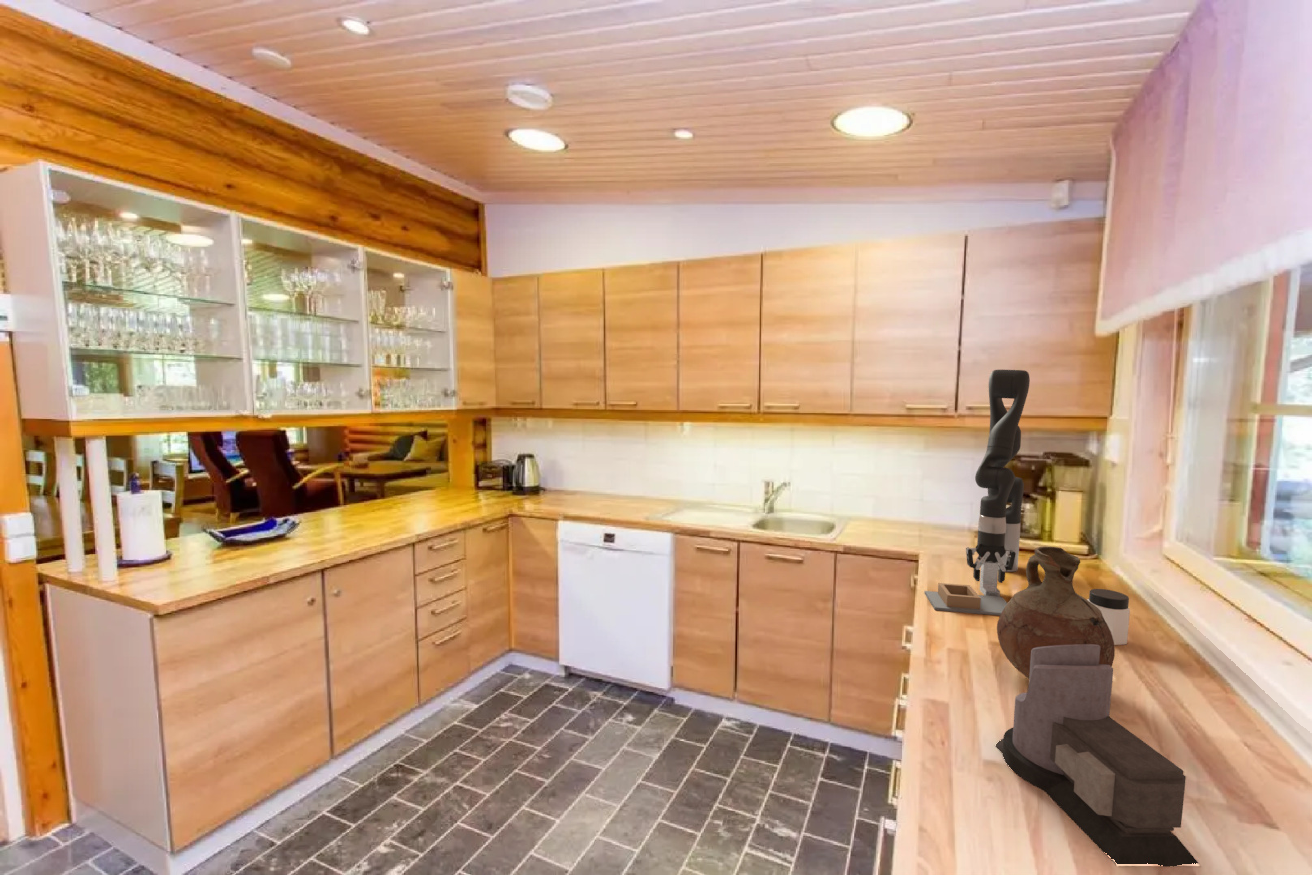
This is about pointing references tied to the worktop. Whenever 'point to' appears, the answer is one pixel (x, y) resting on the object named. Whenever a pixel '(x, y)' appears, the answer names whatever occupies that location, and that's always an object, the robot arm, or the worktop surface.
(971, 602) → the board
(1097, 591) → the jar
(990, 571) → the block
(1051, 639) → the jug
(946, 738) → the worktop surface
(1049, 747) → the brown blocky piece
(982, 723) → the worktop surface
